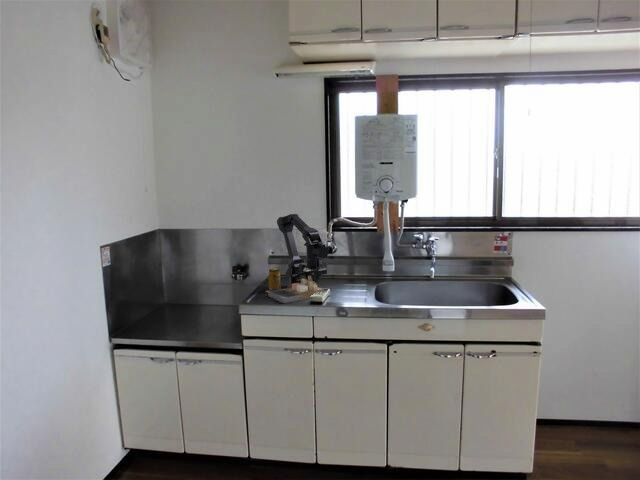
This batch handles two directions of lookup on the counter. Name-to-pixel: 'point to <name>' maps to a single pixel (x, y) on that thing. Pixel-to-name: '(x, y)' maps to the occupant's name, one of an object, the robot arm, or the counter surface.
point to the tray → (284, 296)
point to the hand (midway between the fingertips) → (312, 285)
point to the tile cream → (302, 288)
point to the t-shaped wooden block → (309, 283)
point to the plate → (305, 294)
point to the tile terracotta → (295, 285)
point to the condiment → (274, 280)
